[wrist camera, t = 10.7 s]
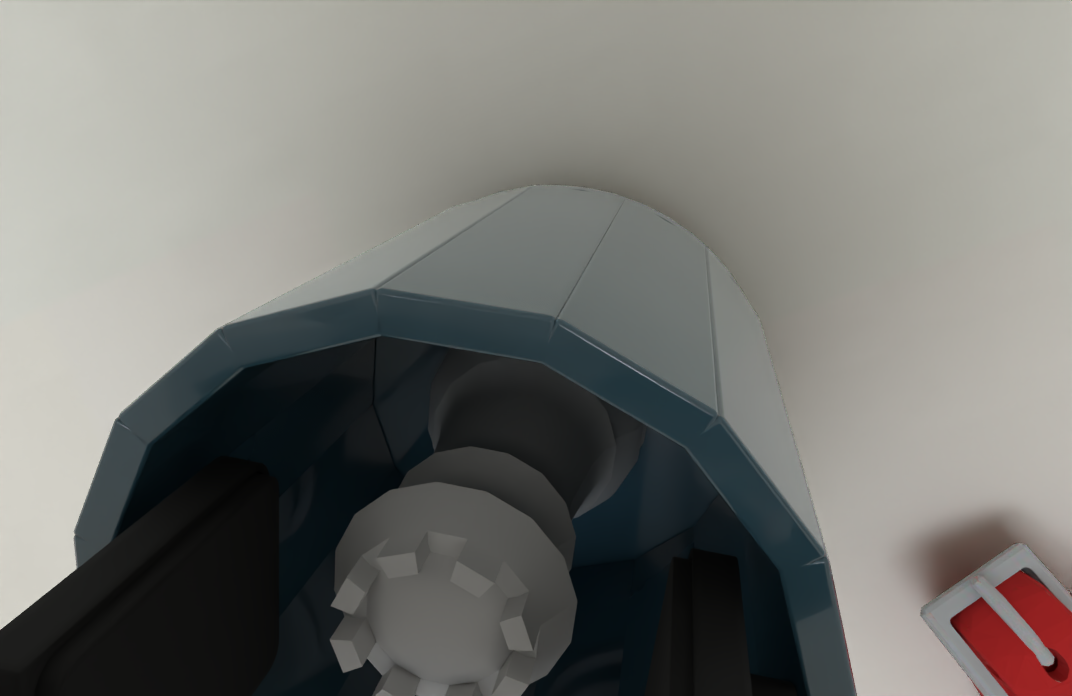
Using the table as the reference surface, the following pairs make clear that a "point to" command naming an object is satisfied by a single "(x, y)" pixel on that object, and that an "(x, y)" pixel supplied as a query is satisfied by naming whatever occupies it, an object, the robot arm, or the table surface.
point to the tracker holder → (1008, 626)
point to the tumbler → (524, 334)
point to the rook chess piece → (480, 533)
